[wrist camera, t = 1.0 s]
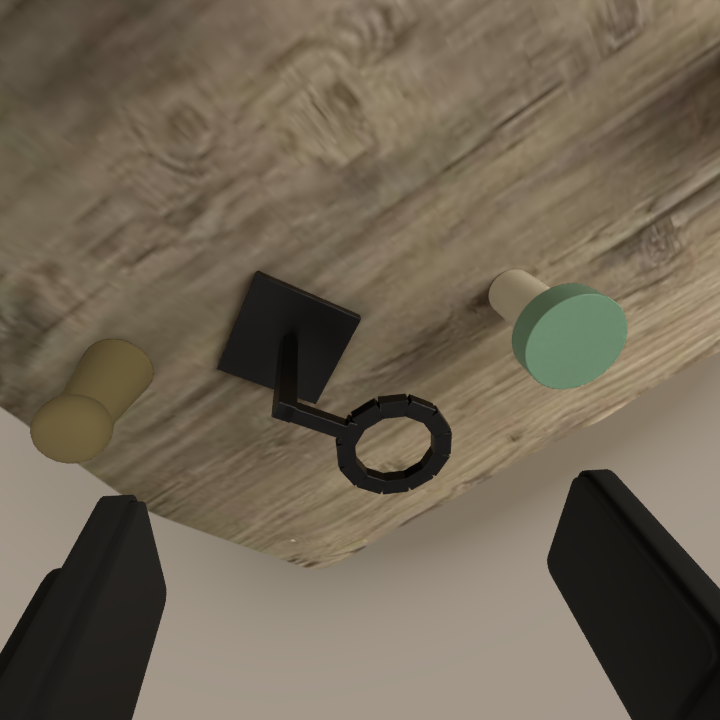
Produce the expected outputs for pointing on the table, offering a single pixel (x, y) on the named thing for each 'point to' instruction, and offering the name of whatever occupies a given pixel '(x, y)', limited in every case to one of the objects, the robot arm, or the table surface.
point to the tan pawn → (91, 402)
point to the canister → (559, 328)
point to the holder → (321, 378)
